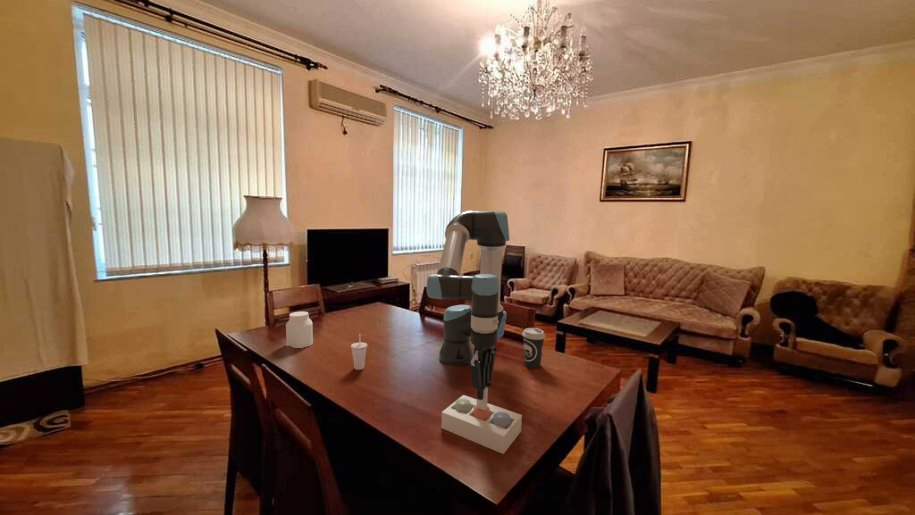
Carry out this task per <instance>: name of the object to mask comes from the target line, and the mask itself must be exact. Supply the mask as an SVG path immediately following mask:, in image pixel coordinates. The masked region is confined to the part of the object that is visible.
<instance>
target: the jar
mask: <svg viewBox="0 0 915 515" xmlns="http://www.w3.org/2000/svg"><path fill="white" fill-rule="evenodd" d="M288 316H289V320H288V321H287V322H286V324H285V332H286V347H288V346H291V347H290V348H293V349H294V348H301V349H304V348H303V347H306V348H308V347H307V346H309V347H311V346H312V345H313V344H314V336H313V334H314V333H313V325H314V324H313V321H312V319H311V318H309V316H310V315H309V312H308V311H294V312H291V313H290V314H289V315H288ZM310 345H311V346H310Z"/></svg>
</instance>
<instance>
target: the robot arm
mask: <svg viewBox="0 0 915 515" xmlns="http://www.w3.org/2000/svg"><path fill="white" fill-rule="evenodd" d="M444 238H445V241H444V245H443V248H442V253H441V256H440V261H439V265H438V266H437V267H438V268H437V271H436V273H434V274H429V275H428V277H427V279H426V294H427V297H428V298H430V299H438V300H453V301H454V300H458V301H459V300H460V301H471V306H470V305H468V304H457V305H452V306H449V307H447V308H446V309H444V314H443V342H442V343H441V344H442V345H441V348H440V351H439V354H438V355H439V356H438V357H439V360H440V362H441V363H444V364H445V365H450V366H465V365H468V364H469V369H470V374H471V377H470V378H471V385H472V388H473V389H476V399H477V406H476V408H478V409H481V410H484V411H485V410H486V409H487V403H488V394H489V392H488V390H489V388H491V387H492V383H490V382H492V381H493V374H494V369H495V368H494V367H495V360H496V355H497V351H498V348H497V347H495V345H496V344H497V343H498V339H501V338H502V337H503V336H504V334H505V333H504V332H505V329H506V328H505V327H506V321H507V311H505V310H504V306H503V305H502V304H501V280H502V255H503V254H502V252H503V249H504V247H505V246H506V244H507V242H509V241H510V229H509V220H508V214H507V213H506V212H504V211H497V210H466V211H463V212H461V213H459V214H457V215H456V216H455V217H453V218H452V219H451V220H450V221H449V222H448V224H447V226H446V227H445V231H444ZM469 240H471V241H476V246H478V247H479V249H480V260H479V261H480V264H479V270H480V271H479V273H478V274H475V275H461V272H462V266H463V261H464V254H465V250H466V248H465V247H466V244H467V243H468V241H469ZM472 345H473V346H474V349H473V348H472ZM488 387H489V388H488Z"/></svg>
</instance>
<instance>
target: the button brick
mask: <svg viewBox="0 0 915 515" xmlns="http://www.w3.org/2000/svg"><path fill="white" fill-rule="evenodd" d="M476 406H477V405H476ZM476 406H475V407H474V417H475V418H478V419H481V420H483V421H486V420H487V419H488V418H489V417H490V408H489V407H488V406H487V409H486V410H485V411H484V410H481V409H478V408H476Z"/></svg>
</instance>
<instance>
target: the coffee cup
mask: <svg viewBox="0 0 915 515" xmlns="http://www.w3.org/2000/svg"><path fill="white" fill-rule="evenodd" d="M545 334H546V333H544V330H543V329H542V328H536V327H527V328H525V329H524V330H523V332H522V334H521V336H522V337H523V338H522V339H523V356H524V357H523V358H524V366H525V367H527V368H530V369H538V368H540V367H541V364H542V356H543V350H544V349H543V348H544V343H545V342H544V341H545V338H546V335H545Z"/></svg>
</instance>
